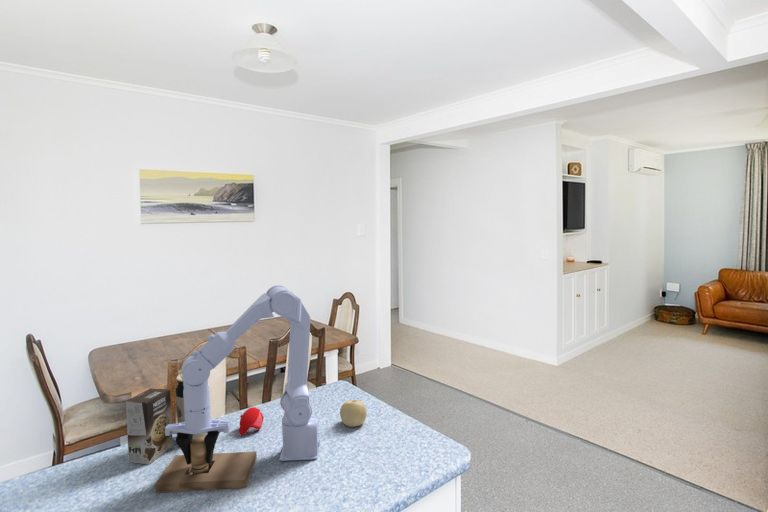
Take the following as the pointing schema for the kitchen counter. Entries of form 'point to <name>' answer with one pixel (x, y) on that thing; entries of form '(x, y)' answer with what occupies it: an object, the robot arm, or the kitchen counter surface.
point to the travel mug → (181, 404)
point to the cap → (250, 420)
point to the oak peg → (198, 456)
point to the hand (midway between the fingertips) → (199, 461)
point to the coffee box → (148, 425)
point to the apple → (353, 413)
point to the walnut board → (222, 475)
